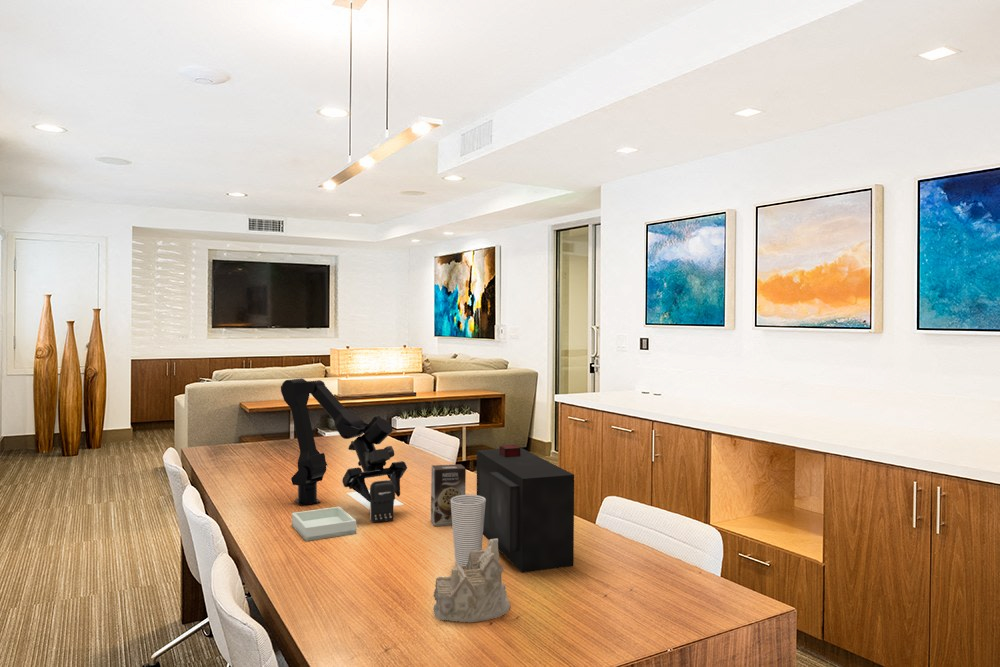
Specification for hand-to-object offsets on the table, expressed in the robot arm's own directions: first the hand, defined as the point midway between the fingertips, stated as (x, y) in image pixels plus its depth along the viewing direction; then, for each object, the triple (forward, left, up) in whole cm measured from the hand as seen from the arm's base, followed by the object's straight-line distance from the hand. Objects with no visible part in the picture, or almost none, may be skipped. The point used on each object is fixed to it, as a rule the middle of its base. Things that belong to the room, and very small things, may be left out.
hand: (385, 498), depth 195 cm
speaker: (+36, +23, -7) cm, 43 cm away
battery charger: (-1, 0, -7) cm, 7 cm away
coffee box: (+9, +16, -7) cm, 19 cm away
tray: (-2, -17, -7) cm, 19 cm away
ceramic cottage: (+62, -4, -7) cm, 62 cm away
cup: (+41, +6, -7) cm, 42 cm away
